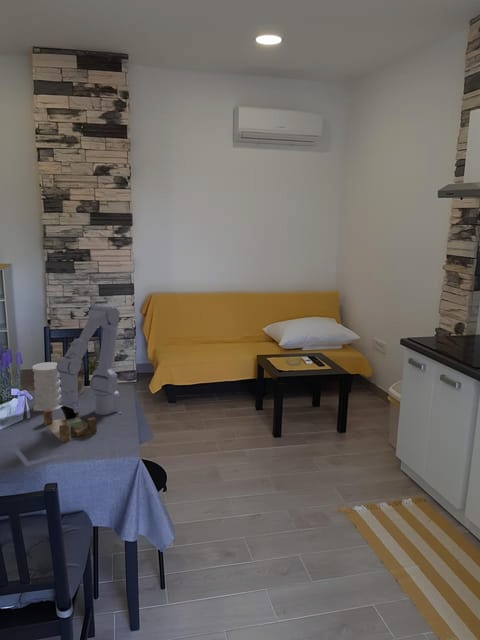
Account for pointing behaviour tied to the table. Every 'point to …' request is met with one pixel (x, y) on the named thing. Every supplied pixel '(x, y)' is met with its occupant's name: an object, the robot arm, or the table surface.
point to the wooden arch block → (90, 429)
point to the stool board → (60, 422)
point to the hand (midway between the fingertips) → (70, 424)
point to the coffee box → (80, 379)
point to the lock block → (74, 423)
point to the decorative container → (46, 386)
